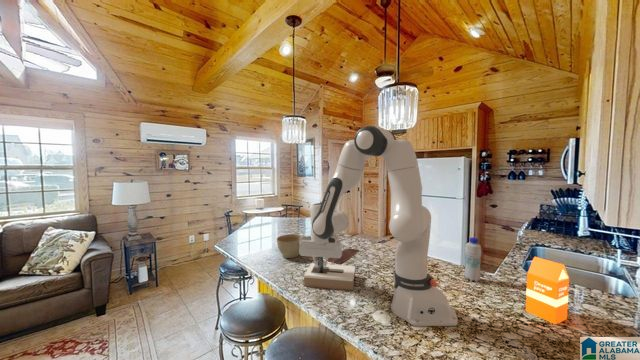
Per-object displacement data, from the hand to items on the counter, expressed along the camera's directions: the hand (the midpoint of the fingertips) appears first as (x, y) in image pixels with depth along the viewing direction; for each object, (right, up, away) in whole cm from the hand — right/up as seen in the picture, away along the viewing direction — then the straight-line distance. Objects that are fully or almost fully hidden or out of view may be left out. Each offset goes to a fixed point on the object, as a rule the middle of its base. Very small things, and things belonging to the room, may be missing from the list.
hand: (320, 265), depth 118 cm
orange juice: (+81, -8, -28) cm, 86 cm away
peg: (0, -6, 0) cm, 6 cm away
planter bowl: (-18, -5, +33) cm, 38 cm away
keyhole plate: (+5, -7, 0) cm, 8 cm away
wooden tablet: (+14, -6, +32) cm, 35 cm away
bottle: (+71, -7, -1) cm, 71 cm away
